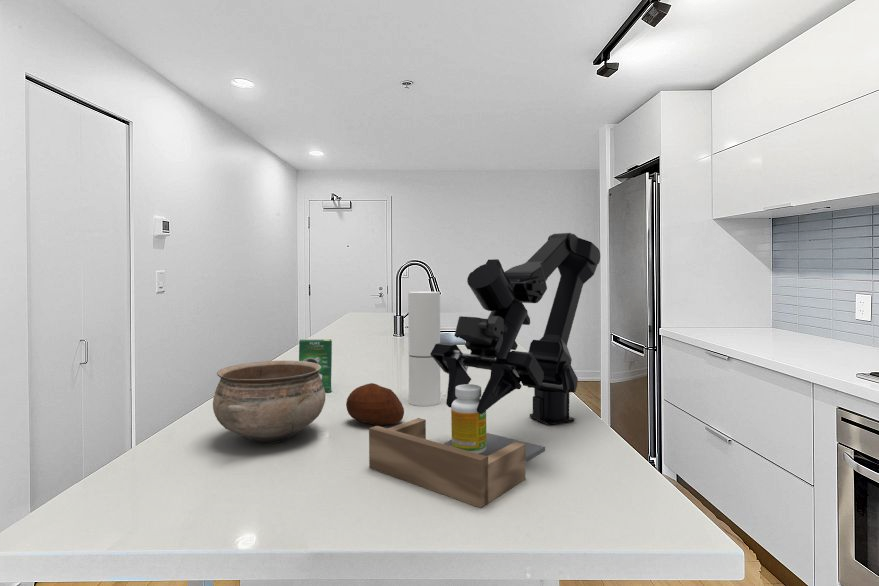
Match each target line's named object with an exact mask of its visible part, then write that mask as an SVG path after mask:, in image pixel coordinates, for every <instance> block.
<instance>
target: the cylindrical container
mask: <svg viewBox="0 0 879 586" xmlns="http://www.w3.org/2000/svg"><path fill="white" fill-rule="evenodd" d="M407 302H408V303H407V304H408V403H409V404H410V405H412V406H416V407H433V406H436V405H439V404H440V403H441V367H440V366H439V365H438V363H437V362H436V361H435V360H434V358H433V357H432V356H431V355H430V354H431V352H432V350H433V348H434V346H435V345H436V344H438V343H441V291H408V301H407Z"/></svg>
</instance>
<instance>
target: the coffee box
mask: <svg viewBox="0 0 879 586" xmlns="http://www.w3.org/2000/svg"><path fill="white" fill-rule="evenodd" d="M298 343H299V344H298V361H306V362H312V363H316V364H319V365H320V366H321V368H320V370H319V371H318V374H319V376H320V378H321V380H322V383H323V386H324V390H325V393H331V392H332V366H333V363H332V362H333V361H332V358H333V357H332V355H333V354H332V353H333V352H332V351H333V341H332V339H326V338H325V339H322V338H321V339H299V341H298Z"/></svg>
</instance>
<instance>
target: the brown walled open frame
mask: <svg viewBox="0 0 879 586" xmlns="http://www.w3.org/2000/svg"><path fill="white" fill-rule="evenodd" d="M426 424H427V420H426V419H424V418H420V417H417V418H414V419H411V420H408V421H406V422H405V421H404V422H403V423H400V424H397V425H396V424H395V425H394V426H391V427H389V428H386V427H383V426H381V425H375V426H371V427H369V428H368V435H369V436H368V462H369V463H368V468H369V469H371V470H375V471H377V472H380V473H383V474H385V475H388V476H391V477H393V478H397V479H398V480H402V481H405V482H408V483H411V484H413V485H415V486H419V487H422V488H424V489H427V490H430V491H433V492H435V493H438V494H440V495H444V496H446V497H449V498H452V499H455V500H458V501H461V502H463V503H466V504H469V505H471V506H474V507H477V508H480V509H482V508H483V507H485V506H487V505H488V504H490V503H491V502H493V501H494V500H496V499H497V498H498V497H500V496H501V495H503V494H505V493H507V491H509V490H511V489H512V488H514V487H515V486H517V485H519V484H520V483H522V482H523V481H524V480H526V462H527V461H526V444H523V443H519V442H514V443H512V444H510V445H508V446H506V447H504V448H502V449H500V450H499V451H497V452H495V453H493V454H491V455H489V456H485V455H481V454H477V453H474V452H470V451H467V450H463V449H459V448H456V447H452V446H448V445H445V444H443V443H441V442H437V441H433V440H430V439H426V438H427V433H426V432H427V431H426V430H427V429H426V426H427V425H426ZM525 461H526V462H525Z"/></svg>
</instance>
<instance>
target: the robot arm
mask: <svg viewBox="0 0 879 586" xmlns="http://www.w3.org/2000/svg"><path fill="white" fill-rule="evenodd" d="M600 262H601V251H600V248H599V247H597V246H596V244H594V243H593V242H592V241H589V240H586V239H583V238H580V237H578V236H577V235H576V234H575V233H572V232H562V233H560V232H559V233H553V234H551V235H549V236H548V238H547V241H546V242H545V243H544V244H542V246H541V247H540V248H539V249H538V250H537V251H536V252H535V253H534V254H533V255H532V256H531V257H530V258H529V259H528V260H527V261H526V262H524V263H521V264H518V265H515V266H512V267H510V268H508V269H507V270H504V269H503V266H502V263H501V262H500V260H499V259H498V258H497V259H495V258H494V259H487V261H486V262H485V263H484V264H481V265H479V266H478V267H476V268H475V269H473V271H471V272H470V273H469V274H468V276H467V281H466V283H467V285H468V287H469V288H470V290H471V291H472V293H473V295H474V296H475V298H476V299H477V301H478V303H479V304H480V306H481V307H482V309H483V310H486V311H488V312H490V313H489V315H488V317H487V318H482V317H477V316H475V317H474V316H463V315H462V316H458V319H457V324H456V328H455V332H454V337H455V338H460V339H461V340H463V341H465V343H464V346H465V348H466V349H467V350H470V353H463V352H462V351H461V349H460V348H459V347H458V345H457V344H454V343H448V342H447V343H445V342H440V343H438V344H436V345H435V346H434V348H433V350H432V352H431V354H430V355H431V356H432V357H433V358H434V360H435V361H436V362H437V363H438V365H439V366H440V370H442V371H443V372H444V373H446V374H448V383H447V392H446V400H445V403H446V406H447V407H448V408H450V409H451V405H452V402H453V401H454V400H456V399H457V397H456V395H455V388H456V386H458V385H464V384H470V383H471V381H472V378H471V377H470V376H469V374H468V373H467V371H468V368H475V369H480V370H481V369H483V370H487V371H488V370H489V371H490V377H489V379H488V381H487V384H486V386H485V388H484V391H483V392H482V393H481V397H480V401H479V404H478V407H477V412H478V413H479V414H482V413H483V412H485V411H486V412H487V410H489V408H491V407H492V406H494V405H495V404H496V403H497V402H499V401H500V400H501V399H503V398H504V397H506V396H507V395H509V394H510V393H512V392H513V391H515V390H520V389H521V388H522V386H525V387H527V388H533V389H534V391H533V392H534V394H533V396H532V413H530V414H529V417H530V418H532V419H534V420H536V421H539V422H540V423H543V424H545V425H547V426H551V425H552V426H553V425H557V424H564V423H565V424H566V423H570V422H575V418H574V417H572V416H570V393H576V390H577V389H578V381H579V380H578V376H577V375H576V372H575V370H574V369H573V367H572V361H573V360H572V357H571V353H570V350H569V348H568V342H569V338H570V334H571V331H572V327H573V323H574V320H575V316H576V312H577V308H578V305H579V301H580V297H581V293H582V292H583V291H582V290H583V286H584V284H585V283H587V281H589V280H590V279H591V278H592V277H594V275H595V273H596V270H597V267H598V265H599V264H600ZM556 269H558V272H559V275H560V278H559V282H558V285H557V288H556V292H555V295H554V299H553V302H552V306H551V309H550V312H549V316H548V319H547V323H546V325H545V326H546V327H545V330H544V333H543V336H541V338H540V339H533V340H531V342H530V344H529V347H528V348H529V349H528V352H527V351H516V350H517V348H518V346H519V345H518V343H517V341H516V339H517V337H518V335H519V332H520V330H521V328H522V326H525V325H526V326H530V325H531V317H530V316H529V314H528V309H527V308H526V306H525V305H524V304H538V303H539V302H540V301H541V300H542V298H544V297H543V296H544V295H545V293H546V291H547V290H548V286H547V281H548V278H549V277H550V276H551V275H552V274H553V273H554V272H555V270H556Z"/></svg>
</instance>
